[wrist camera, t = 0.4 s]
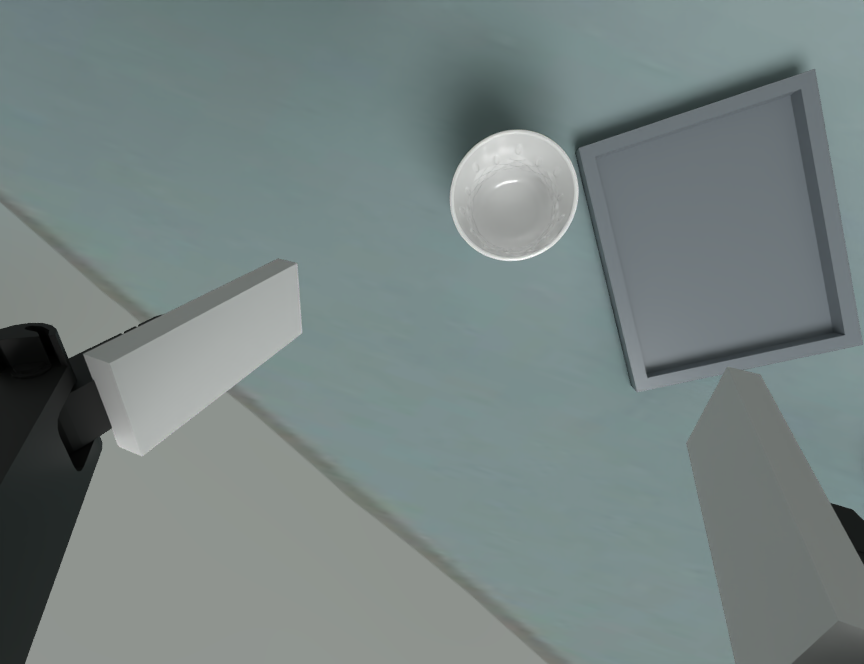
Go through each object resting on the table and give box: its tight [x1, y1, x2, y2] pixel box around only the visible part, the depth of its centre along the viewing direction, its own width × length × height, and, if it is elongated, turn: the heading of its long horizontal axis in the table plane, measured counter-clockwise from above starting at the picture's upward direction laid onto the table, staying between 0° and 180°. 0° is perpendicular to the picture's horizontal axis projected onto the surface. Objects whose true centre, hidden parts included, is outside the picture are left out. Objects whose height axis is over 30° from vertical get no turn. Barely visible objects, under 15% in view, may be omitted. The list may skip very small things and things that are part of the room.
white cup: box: [450, 129, 578, 261], centre depth 32 cm, size 8×8×10 cm
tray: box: [575, 69, 863, 392], centre depth 33 cm, size 20×16×2 cm
